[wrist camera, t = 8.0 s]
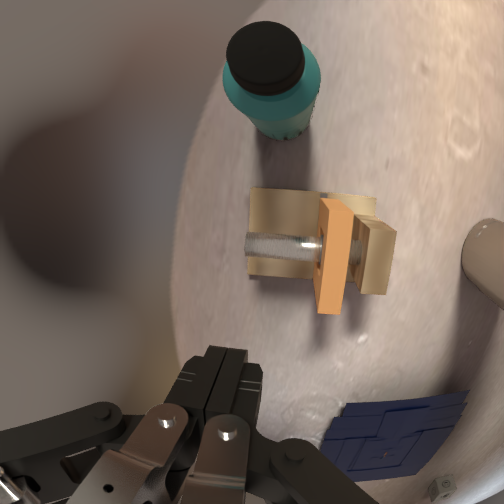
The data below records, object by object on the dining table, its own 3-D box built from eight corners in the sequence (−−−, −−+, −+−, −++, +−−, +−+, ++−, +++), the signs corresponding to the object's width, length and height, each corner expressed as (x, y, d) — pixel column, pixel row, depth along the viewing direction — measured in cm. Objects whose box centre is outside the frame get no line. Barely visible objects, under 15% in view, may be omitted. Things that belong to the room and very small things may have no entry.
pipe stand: (248, 271, 37) (234, 303, 29) (252, 187, 34) (237, 195, 26) (363, 279, 35) (381, 314, 27) (374, 197, 33) (399, 208, 24)
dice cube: (444, 484, 47) (448, 498, 42) (427, 488, 47) (431, 502, 43) (452, 474, 45) (457, 488, 41) (435, 478, 46) (439, 493, 41)
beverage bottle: (283, 154, 33) (268, 140, 14) (240, 115, 32) (173, 60, 13) (323, 114, 31) (360, 53, 12) (279, 75, 30) (260, -19, 11)
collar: (312, 276, 35) (317, 313, 26) (320, 197, 32) (329, 209, 23) (329, 278, 34) (339, 314, 26) (338, 199, 32) (354, 212, 23)
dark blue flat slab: (473, 376, 36) (481, 391, 33) (414, 464, 48) (417, 477, 44) (331, 388, 39) (333, 408, 36) (309, 473, 51) (309, 487, 48)
